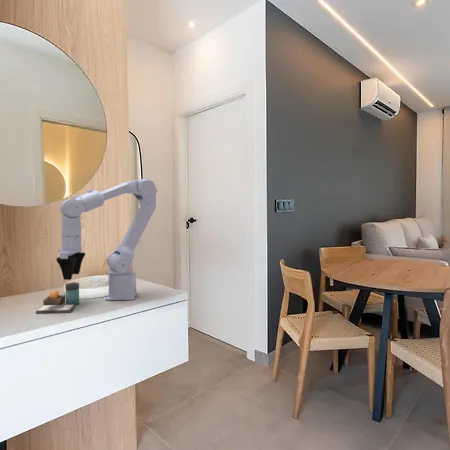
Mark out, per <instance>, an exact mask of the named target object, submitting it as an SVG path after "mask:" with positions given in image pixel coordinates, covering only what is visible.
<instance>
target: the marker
mask: <svg viewBox="0 0 450 450" xmlns="http://www.w3.org/2000/svg"><path fill="white" fill-rule="evenodd" d="M64 287H65V305H75V306H76V307H77V306H79V305H80V283H79V282H75V281H74V282H68V283H66V284H65V285H64Z"/></svg>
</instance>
